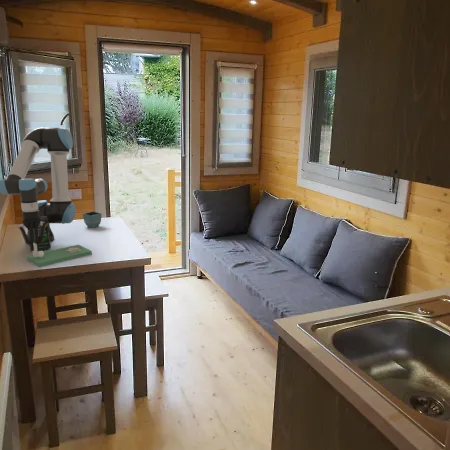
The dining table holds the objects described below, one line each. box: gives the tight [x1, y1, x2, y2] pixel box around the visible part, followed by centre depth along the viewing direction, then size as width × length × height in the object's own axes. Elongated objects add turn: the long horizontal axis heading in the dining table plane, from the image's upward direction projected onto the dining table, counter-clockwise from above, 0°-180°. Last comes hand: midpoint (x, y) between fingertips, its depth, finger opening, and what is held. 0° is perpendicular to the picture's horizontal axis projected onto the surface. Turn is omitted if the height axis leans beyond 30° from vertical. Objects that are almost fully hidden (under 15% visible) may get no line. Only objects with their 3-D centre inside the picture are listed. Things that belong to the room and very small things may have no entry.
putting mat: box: [26, 244, 93, 268], centre depth 223 cm, size 15×28×2 cm, turn 134°
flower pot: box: [82, 211, 102, 229], centre depth 279 cm, size 9×9×9 cm
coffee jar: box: [32, 216, 51, 252], centre depth 232 cm, size 10×8×19 cm
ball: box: [38, 251, 45, 258], centre depth 215 cm, size 4×4×4 cm
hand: (35, 256), depth 214 cm, fingers closed
